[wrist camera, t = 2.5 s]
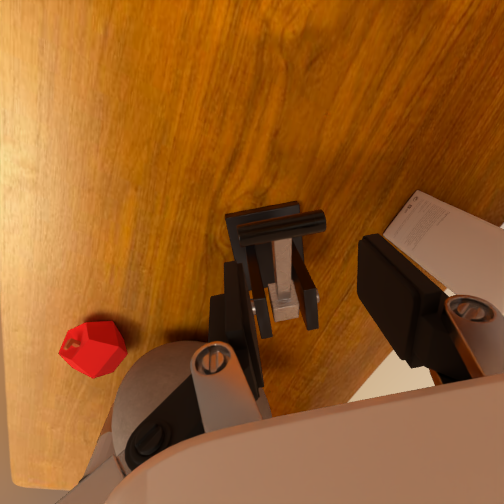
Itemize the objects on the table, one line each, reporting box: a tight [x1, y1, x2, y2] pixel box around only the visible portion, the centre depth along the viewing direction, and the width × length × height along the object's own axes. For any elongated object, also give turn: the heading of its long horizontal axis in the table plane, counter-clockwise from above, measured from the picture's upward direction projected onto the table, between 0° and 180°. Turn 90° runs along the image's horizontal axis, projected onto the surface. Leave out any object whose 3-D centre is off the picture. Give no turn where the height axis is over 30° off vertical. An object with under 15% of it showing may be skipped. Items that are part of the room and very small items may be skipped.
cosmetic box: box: [383, 190, 504, 316], centre depth 27 cm, size 8×7×16 cm
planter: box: [112, 341, 272, 456], centre depth 32 cm, size 18×7×19 cm, turn 64°
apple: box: [58, 321, 128, 378], centre depth 34 cm, size 7×7×8 cm
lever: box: [237, 209, 326, 322], centre depth 21 cm, size 12×5×2 cm, turn 10°
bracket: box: [225, 201, 319, 339], centre depth 28 cm, size 10×8×12 cm
